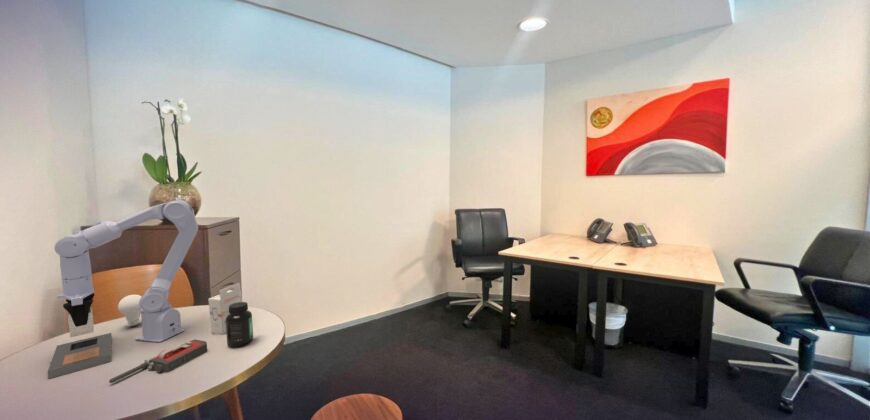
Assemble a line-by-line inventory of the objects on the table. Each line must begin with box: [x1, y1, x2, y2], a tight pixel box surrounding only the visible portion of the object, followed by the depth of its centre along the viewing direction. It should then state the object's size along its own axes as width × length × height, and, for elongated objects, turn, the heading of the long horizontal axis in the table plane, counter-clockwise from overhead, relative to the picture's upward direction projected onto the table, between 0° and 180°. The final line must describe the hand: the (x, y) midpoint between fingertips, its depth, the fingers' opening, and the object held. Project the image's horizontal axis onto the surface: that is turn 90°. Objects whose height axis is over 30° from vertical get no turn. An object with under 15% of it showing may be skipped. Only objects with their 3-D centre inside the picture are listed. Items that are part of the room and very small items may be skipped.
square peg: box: [67, 307, 95, 338], centre depth 92 cm, size 4×4×6 cm
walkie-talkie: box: [108, 338, 208, 384], centre depth 85 cm, size 9×4×20 cm
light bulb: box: [117, 294, 143, 328], centre depth 108 cm, size 7×7×11 cm
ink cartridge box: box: [207, 282, 243, 335], centre depth 106 cm, size 9×5×15 cm, turn 168°
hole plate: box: [47, 332, 113, 380], centre depth 89 cm, size 18×11×2 cm, turn 45°
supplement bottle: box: [225, 301, 254, 349], centre depth 96 cm, size 7×7×12 cm
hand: (82, 322), depth 92 cm, fingers closed on square peg, 4 cm apart
